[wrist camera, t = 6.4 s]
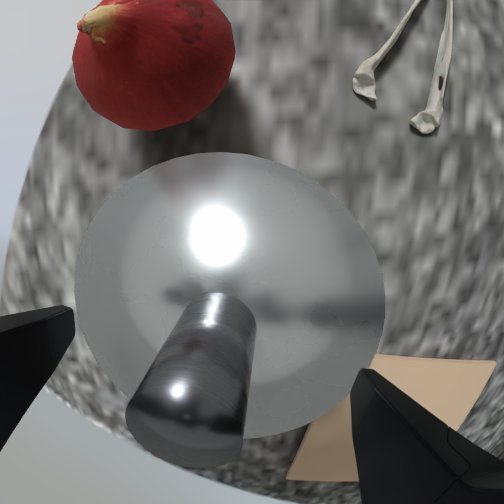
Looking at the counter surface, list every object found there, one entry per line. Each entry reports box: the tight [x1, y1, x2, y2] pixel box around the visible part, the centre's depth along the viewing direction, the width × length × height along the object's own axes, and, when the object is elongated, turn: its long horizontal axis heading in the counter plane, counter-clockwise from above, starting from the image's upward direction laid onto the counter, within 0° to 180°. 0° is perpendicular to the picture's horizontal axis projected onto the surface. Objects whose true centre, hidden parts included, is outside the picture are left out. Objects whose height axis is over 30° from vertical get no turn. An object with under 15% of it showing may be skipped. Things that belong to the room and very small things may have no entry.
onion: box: [72, 0, 235, 131], centre depth 9 cm, size 6×6×8 cm
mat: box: [286, 354, 497, 482], centre depth 17 cm, size 12×12×1 cm
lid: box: [75, 152, 385, 468], centre depth 9 cm, size 12×12×6 cm
